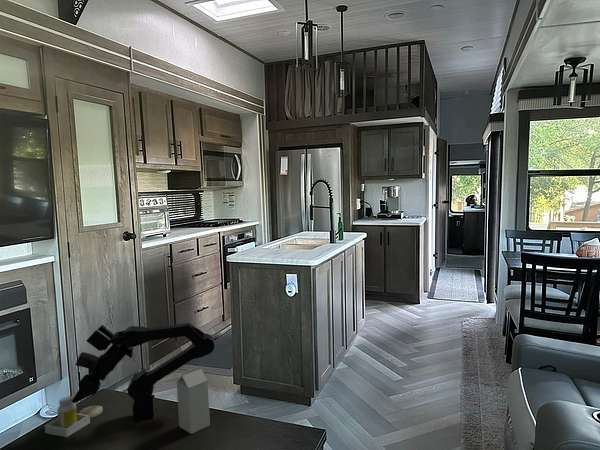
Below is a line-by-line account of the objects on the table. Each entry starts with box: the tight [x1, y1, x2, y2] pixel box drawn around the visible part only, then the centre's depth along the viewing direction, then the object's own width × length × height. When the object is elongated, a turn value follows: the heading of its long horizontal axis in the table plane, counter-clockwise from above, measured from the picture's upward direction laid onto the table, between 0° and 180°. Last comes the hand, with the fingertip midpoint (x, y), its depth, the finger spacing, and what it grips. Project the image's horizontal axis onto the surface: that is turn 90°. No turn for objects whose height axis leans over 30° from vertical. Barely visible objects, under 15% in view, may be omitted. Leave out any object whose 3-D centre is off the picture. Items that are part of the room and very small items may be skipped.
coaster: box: [78, 405, 104, 419], centre depth 146 cm, size 8×8×1 cm
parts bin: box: [44, 412, 91, 438], centre depth 137 cm, size 9×9×2 cm
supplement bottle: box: [57, 395, 77, 428], centre depth 137 cm, size 5×5×10 cm
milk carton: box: [176, 365, 211, 435], centre depth 134 cm, size 7×7×19 cm
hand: (76, 395), depth 137 cm, fingers open, 9 cm apart
